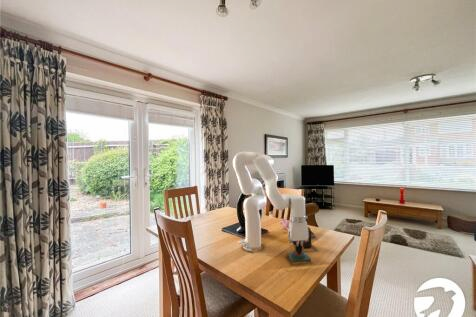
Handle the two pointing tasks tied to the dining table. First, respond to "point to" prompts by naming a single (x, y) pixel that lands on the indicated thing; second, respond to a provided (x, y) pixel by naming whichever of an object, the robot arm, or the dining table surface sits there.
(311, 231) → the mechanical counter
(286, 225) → the lily
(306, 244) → the bracket
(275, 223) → the dining table surface
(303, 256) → the button box
